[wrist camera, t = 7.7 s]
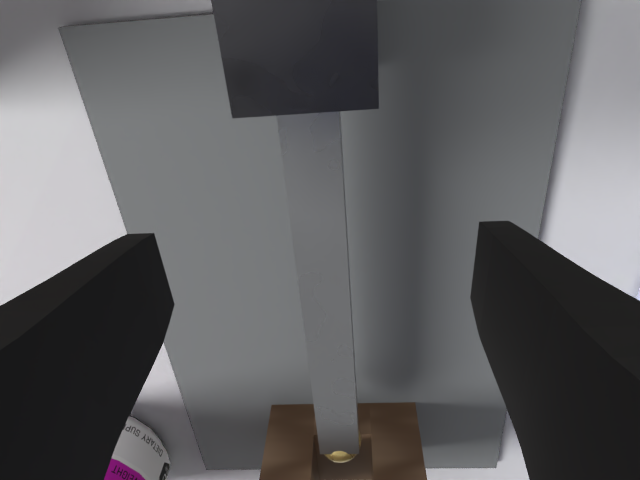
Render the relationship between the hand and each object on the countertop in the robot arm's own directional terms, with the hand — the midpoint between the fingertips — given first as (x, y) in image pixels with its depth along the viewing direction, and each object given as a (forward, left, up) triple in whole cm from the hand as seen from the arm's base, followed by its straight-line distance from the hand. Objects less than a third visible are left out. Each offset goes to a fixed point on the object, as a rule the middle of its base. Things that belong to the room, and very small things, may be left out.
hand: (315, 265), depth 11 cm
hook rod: (0, +5, -9) cm, 10 cm away
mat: (0, +8, -10) cm, 13 cm away
